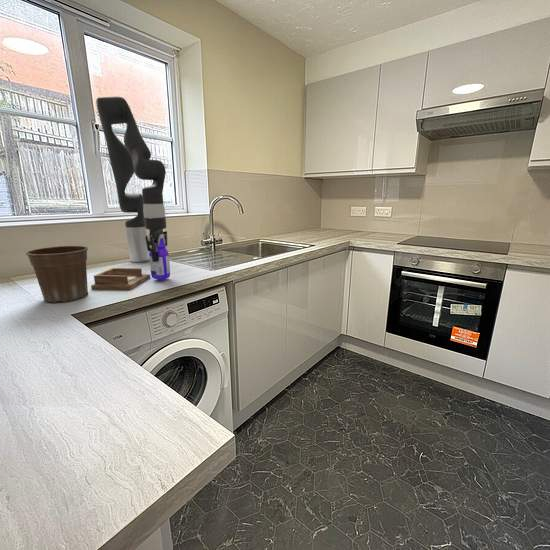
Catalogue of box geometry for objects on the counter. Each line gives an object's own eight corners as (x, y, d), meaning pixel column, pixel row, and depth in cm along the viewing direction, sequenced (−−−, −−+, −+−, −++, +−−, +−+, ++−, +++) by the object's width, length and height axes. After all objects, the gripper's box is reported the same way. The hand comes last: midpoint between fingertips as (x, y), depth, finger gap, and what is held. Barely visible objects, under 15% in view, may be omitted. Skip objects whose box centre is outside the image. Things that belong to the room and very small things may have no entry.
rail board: (117, 277, 122) (115, 266, 121) (150, 277, 121) (148, 267, 120) (91, 289, 107) (89, 277, 105) (129, 290, 106) (127, 278, 105)
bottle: (173, 276, 120) (169, 233, 115) (164, 280, 115) (160, 235, 110) (157, 275, 122) (153, 233, 117) (148, 279, 116) (143, 235, 112)
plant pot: (73, 287, 109) (65, 243, 105) (106, 292, 104) (99, 246, 99) (24, 302, 94) (12, 252, 90) (60, 308, 89) (49, 256, 85)
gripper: (153, 214, 118) (158, 255, 123) (135, 217, 105) (141, 263, 109) (172, 214, 118) (175, 255, 123) (156, 217, 104) (161, 264, 109)
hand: (159, 259), depth 116 cm, fingers closed on bottle, 6 cm apart
